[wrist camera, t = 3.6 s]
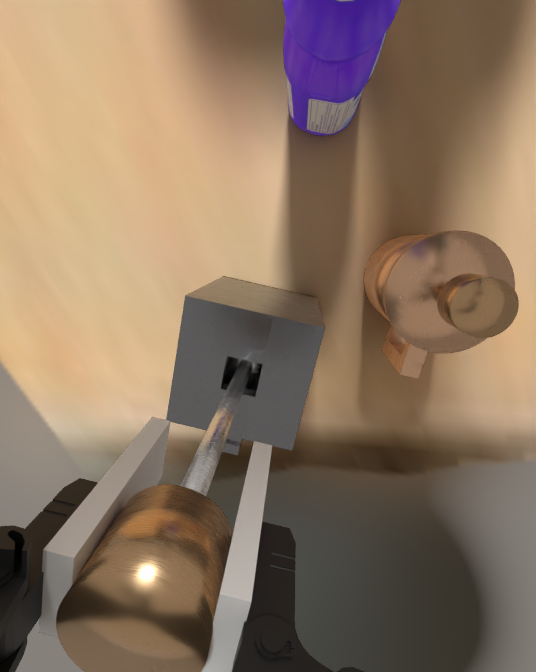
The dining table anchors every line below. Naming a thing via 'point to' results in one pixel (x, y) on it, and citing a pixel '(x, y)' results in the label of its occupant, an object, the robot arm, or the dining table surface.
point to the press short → (439, 294)
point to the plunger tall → (158, 567)
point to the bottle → (331, 58)
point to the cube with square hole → (251, 345)
